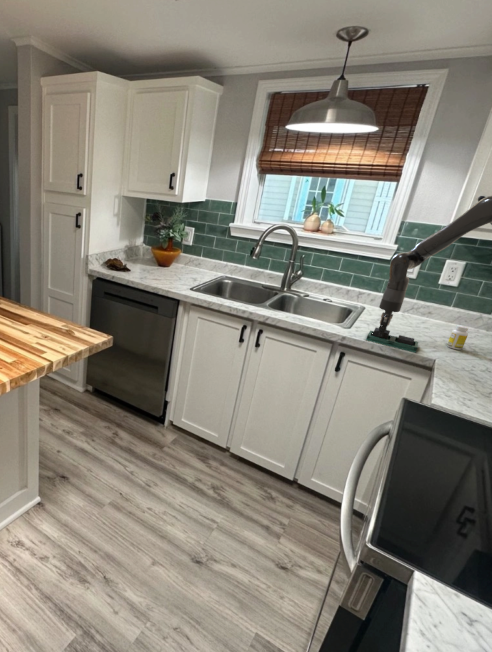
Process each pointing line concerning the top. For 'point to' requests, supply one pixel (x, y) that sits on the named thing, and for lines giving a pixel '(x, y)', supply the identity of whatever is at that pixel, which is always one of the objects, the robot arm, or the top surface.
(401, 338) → the near pad
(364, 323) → the top surface
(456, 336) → the supplement bottle
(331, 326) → the top surface
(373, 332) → the far pad
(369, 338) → the base board
